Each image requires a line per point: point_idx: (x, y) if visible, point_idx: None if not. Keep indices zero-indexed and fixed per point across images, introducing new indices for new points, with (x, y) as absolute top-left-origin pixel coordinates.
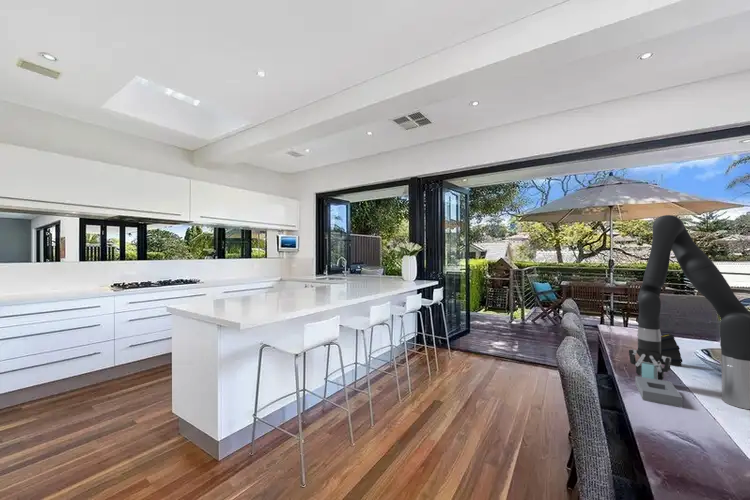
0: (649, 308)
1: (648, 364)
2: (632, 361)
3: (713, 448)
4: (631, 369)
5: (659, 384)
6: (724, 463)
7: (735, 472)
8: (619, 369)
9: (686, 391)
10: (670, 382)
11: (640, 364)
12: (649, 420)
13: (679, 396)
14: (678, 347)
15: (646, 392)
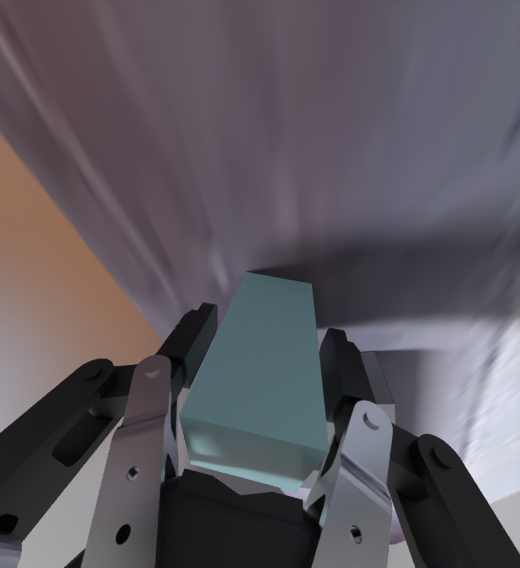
0: None
1: (246, 473)
2: (108, 422)
3: (394, 520)
4: (51, 20)
5: (328, 440)
6: (395, 531)
7: (401, 536)
8: (40, 155)
9: (471, 319)
10: (390, 413)
11: (171, 386)
12: (307, 491)
13: (389, 495)
14: None
15: None
